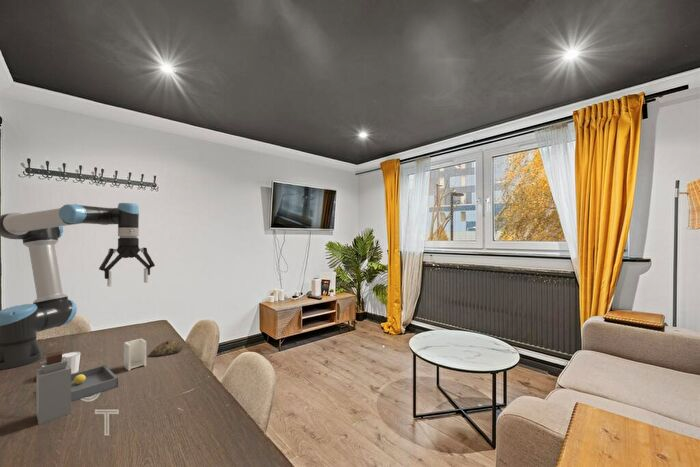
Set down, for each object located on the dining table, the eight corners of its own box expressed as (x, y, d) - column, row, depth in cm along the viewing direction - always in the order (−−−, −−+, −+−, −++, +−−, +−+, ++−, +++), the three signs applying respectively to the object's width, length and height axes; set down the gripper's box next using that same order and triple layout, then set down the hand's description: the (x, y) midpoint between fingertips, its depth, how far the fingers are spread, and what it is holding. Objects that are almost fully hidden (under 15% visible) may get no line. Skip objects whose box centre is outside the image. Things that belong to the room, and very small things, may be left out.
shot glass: (65, 377, 112) (65, 359, 112) (51, 375, 113) (51, 357, 113) (85, 369, 118) (85, 352, 119) (71, 368, 120) (71, 350, 120)
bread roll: (180, 354, 134) (180, 343, 134) (147, 358, 129) (148, 347, 130) (184, 345, 146) (184, 334, 146) (155, 348, 141) (155, 338, 141)
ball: (74, 383, 103) (73, 386, 105) (86, 380, 105) (85, 383, 107) (74, 374, 104) (72, 377, 106) (86, 371, 107) (84, 375, 108)
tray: (48, 388, 104) (48, 380, 104) (104, 372, 116) (104, 364, 116) (56, 406, 93) (56, 396, 93) (118, 386, 105) (118, 378, 105)
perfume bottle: (67, 405, 93) (67, 348, 93) (71, 413, 89) (71, 353, 89) (36, 415, 88) (36, 354, 88) (38, 424, 84) (38, 360, 84)
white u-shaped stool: (124, 366, 121) (124, 342, 121) (141, 362, 125) (141, 338, 125) (128, 371, 117) (128, 345, 117) (146, 365, 122) (146, 341, 122)
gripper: (94, 237, 122) (94, 289, 122) (162, 237, 141) (162, 281, 141) (90, 237, 126) (90, 287, 126) (156, 237, 146) (156, 280, 146)
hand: (128, 284), depth 134 cm, fingers open, 13 cm apart
